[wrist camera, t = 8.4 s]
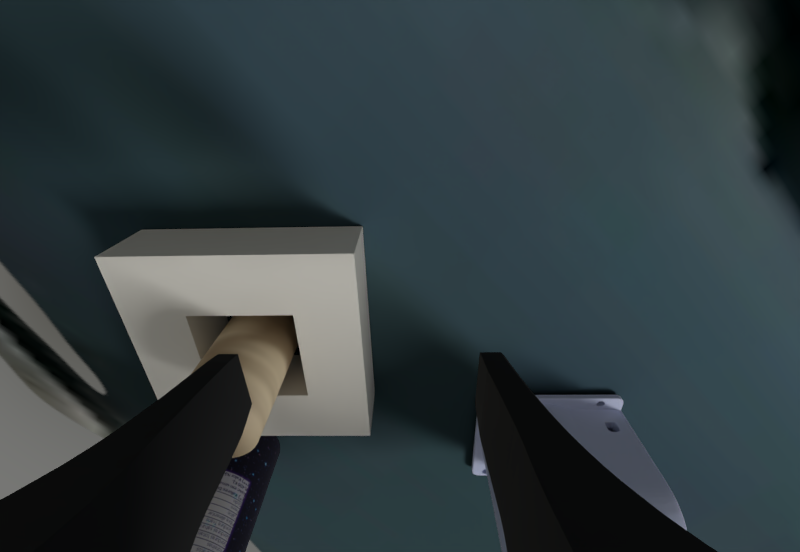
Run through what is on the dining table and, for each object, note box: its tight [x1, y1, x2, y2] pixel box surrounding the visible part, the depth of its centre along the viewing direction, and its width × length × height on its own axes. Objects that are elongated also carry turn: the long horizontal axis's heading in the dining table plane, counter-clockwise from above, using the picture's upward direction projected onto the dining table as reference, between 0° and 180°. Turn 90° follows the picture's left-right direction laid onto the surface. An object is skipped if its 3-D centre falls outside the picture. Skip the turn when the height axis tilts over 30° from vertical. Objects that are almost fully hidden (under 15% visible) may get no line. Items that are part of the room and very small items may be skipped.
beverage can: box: [190, 436, 280, 552], centre depth 23 cm, size 6×6×12 cm
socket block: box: [94, 226, 375, 436], centre depth 22 cm, size 12×12×4 cm
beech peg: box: [190, 315, 298, 458], centre depth 20 cm, size 4×4×8 cm
